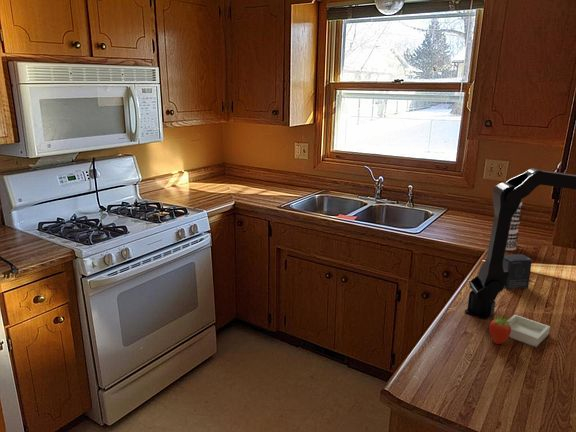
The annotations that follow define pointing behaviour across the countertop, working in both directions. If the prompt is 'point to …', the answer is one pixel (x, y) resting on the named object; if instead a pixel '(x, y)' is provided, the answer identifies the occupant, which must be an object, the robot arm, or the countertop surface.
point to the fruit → (499, 329)
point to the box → (517, 271)
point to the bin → (527, 330)
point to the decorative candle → (514, 229)
